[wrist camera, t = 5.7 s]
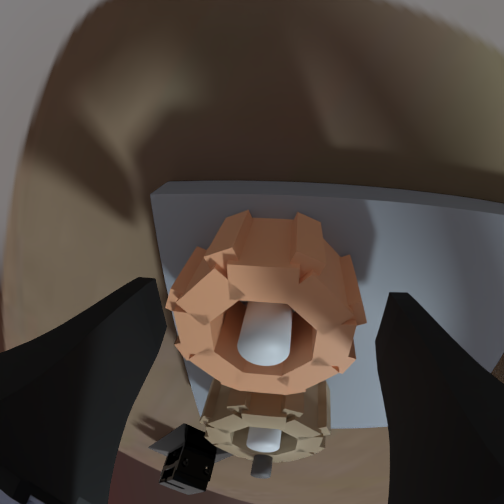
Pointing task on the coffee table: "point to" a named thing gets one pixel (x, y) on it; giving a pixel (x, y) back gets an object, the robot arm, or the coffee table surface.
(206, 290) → the gear
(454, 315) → the gear board
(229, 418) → the gear
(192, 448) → the black piece
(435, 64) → the coffee table surface
